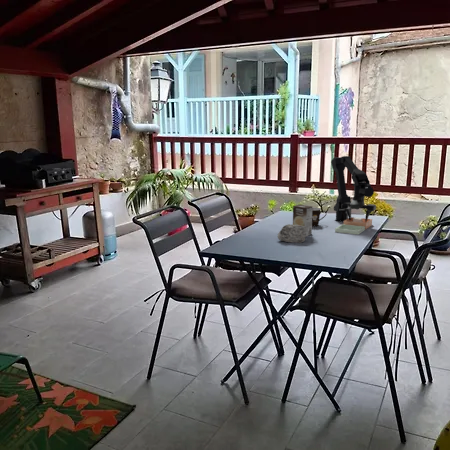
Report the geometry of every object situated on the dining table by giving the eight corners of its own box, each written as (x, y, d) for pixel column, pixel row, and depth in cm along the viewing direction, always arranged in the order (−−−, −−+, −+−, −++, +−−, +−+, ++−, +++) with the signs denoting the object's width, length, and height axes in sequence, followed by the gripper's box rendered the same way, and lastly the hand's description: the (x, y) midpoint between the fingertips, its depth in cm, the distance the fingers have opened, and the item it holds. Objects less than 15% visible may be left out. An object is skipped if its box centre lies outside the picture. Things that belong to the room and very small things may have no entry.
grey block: (352, 226, 269) (352, 218, 268) (355, 224, 273) (355, 217, 272) (360, 227, 267) (360, 219, 266) (362, 225, 270) (363, 218, 269)
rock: (311, 240, 241) (308, 221, 240) (305, 243, 234) (302, 224, 233) (283, 242, 249) (280, 224, 248) (277, 245, 242) (274, 226, 241)
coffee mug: (304, 226, 274) (304, 209, 272) (307, 223, 282) (307, 207, 279) (323, 227, 269) (324, 210, 267) (326, 224, 277) (327, 208, 275)
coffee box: (291, 234, 256) (292, 206, 252) (298, 232, 260) (298, 204, 257) (306, 237, 250) (306, 207, 246) (312, 234, 254) (313, 206, 251)
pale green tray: (335, 232, 257) (335, 228, 256) (342, 228, 267) (342, 224, 266) (358, 235, 250) (358, 231, 249) (364, 230, 260) (364, 226, 259)
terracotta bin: (343, 227, 268) (343, 220, 267) (350, 223, 278) (350, 217, 277) (365, 230, 261) (366, 223, 260) (371, 225, 271) (372, 219, 270)
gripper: (338, 195, 264) (337, 222, 267) (371, 197, 254) (370, 225, 257) (345, 192, 273) (344, 218, 276) (377, 194, 263) (375, 221, 266)
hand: (357, 220), depth 269 cm, fingers open, 9 cm apart
